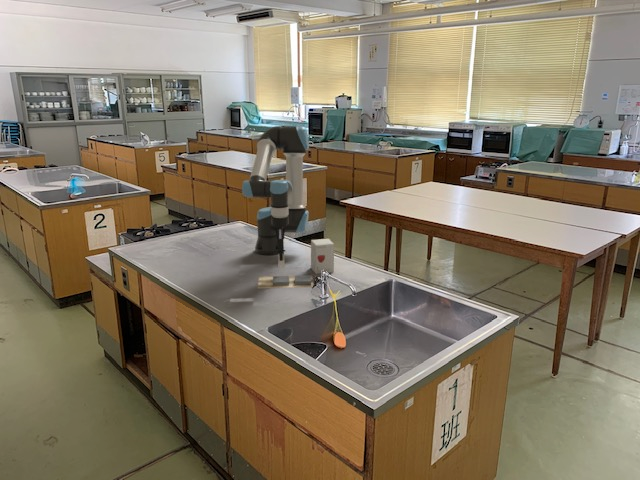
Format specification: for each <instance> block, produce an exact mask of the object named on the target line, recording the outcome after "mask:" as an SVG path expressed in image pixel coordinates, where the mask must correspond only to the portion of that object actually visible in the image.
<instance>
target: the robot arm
mask: <svg viewBox="0 0 640 480" xmlns="http://www.w3.org/2000/svg"><path fill="white" fill-rule="evenodd" d="M309 141H310V140H309V133H308V130H307V128H306V127H305V126H298V125H292V126H291V125H289V126H287V125H285V126H282V125H281V126H280V125H279V126H276V125H275V126H273V127H270V128H268V129H267V130H265V131H264V132H263V133H262V134H261V136H260V137H259V138H258V140H257V142H256V143H257V144H256V149H257V150H256V151H257V152H256V155H255V158H254V162H253V166H252V169H251V173H250V176H249V179H246V180H243V181H242V184H241V185H242V186H241V190H242V191H241V193H242V195H243V196H244V197H245V198H251V199H252V198H266V199H267V198H269V199H270V206H268V207H267V206H266V207H263V208H260V209H259V210H257V213H256V222H257V223H256V224H257V240H256V243H255V246H254V250H255V251H254V252H255V253H256V254H258V255H262V256H263V255H264V256H273V255H274V256H275V255H277V262H278V263H277V265H278V266H277V267H278V268H285V253H286V249H285V246H284V245H285V243H284V239H285V233H291V234H292V233H294V234H301V233H302V234H303V233H305V232H306V230H307V228H308V224H309V223H308V221H309V218H310V217H309V214H310V212H309V210H307V209H306V208H307V207H306V206H305V204H304V203H303V202H304V199H303V198H304V197H303V196H304V190H303V189H304V179H303V178H304V166H303V165H304V156H305V155H306V154H307V151H308V150H309V149H310V142H309ZM277 150H279V151H280V150H281V151H282V154H283V156H285V162H286V163H285V179H275V180H267V178H268V174H269V170H270V166H271V164H272V163H271V161H272V158H273V154H274V153H276V151H277Z"/></svg>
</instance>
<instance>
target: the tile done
mask: <svg viewBox="0 0 640 480" xmlns="http://www.w3.org/2000/svg"><path fill="white" fill-rule="evenodd" d="M311 275H312V274H311ZM311 275H310V274H307V275H305V274H303V276H301V275H294V276H295V285H306V284H311Z"/></svg>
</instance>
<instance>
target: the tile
mask: <svg viewBox="0 0 640 480" xmlns="http://www.w3.org/2000/svg"><path fill="white" fill-rule="evenodd" d="M289 276H290V275H273V286H274V285H289Z"/></svg>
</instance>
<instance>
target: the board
mask: <svg viewBox="0 0 640 480" xmlns="http://www.w3.org/2000/svg"><path fill="white" fill-rule="evenodd" d="M303 275H304V274H303ZM303 275H301V274H300V276H303ZM273 276H274V275H273ZM273 276H272V275H270V276H267V275H266V276H264V275H263V276H259V277H258V282H257V289H292V288H314V287H313V285H314V278H313V275H312V274H311V284H306V285H295V276H296V275H288V276H289V285H274V286H273Z"/></svg>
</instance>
